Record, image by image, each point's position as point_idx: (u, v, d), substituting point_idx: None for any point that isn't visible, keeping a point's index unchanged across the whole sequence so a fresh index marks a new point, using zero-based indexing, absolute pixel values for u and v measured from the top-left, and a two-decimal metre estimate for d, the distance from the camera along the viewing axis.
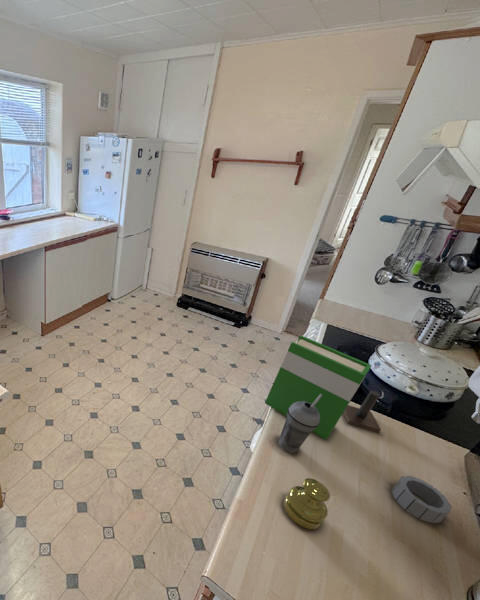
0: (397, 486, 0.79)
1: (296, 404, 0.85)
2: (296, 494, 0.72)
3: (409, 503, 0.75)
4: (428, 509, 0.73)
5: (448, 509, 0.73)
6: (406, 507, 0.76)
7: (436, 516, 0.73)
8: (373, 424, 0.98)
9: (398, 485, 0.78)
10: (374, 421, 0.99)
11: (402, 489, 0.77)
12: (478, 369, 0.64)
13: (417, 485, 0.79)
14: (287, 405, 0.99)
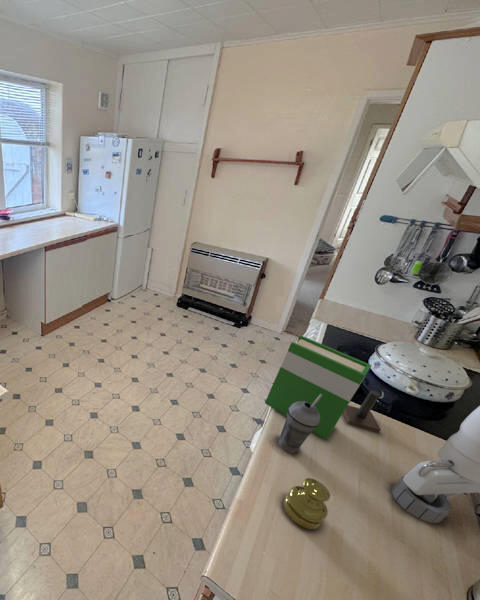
0: (397, 486, 0.79)
1: (296, 404, 0.85)
2: (296, 494, 0.72)
3: (409, 503, 0.75)
4: (428, 509, 0.73)
5: (448, 509, 0.73)
6: (406, 507, 0.76)
7: (437, 516, 0.73)
8: (373, 424, 0.98)
9: (398, 485, 0.78)
10: (374, 421, 0.99)
11: (402, 489, 0.77)
12: None
13: None
14: (287, 405, 0.99)
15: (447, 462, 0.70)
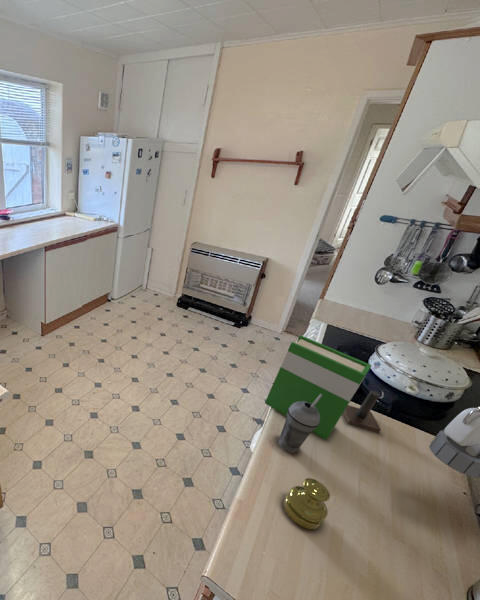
0: (436, 440, 0.71)
1: (296, 404, 0.85)
2: (296, 494, 0.72)
3: (451, 457, 0.68)
4: (474, 462, 0.65)
5: None
6: (448, 462, 0.68)
7: None
8: (373, 424, 0.98)
9: (437, 439, 0.71)
10: (374, 421, 0.99)
11: (442, 443, 0.69)
12: None
13: None
14: (287, 405, 0.99)
15: None
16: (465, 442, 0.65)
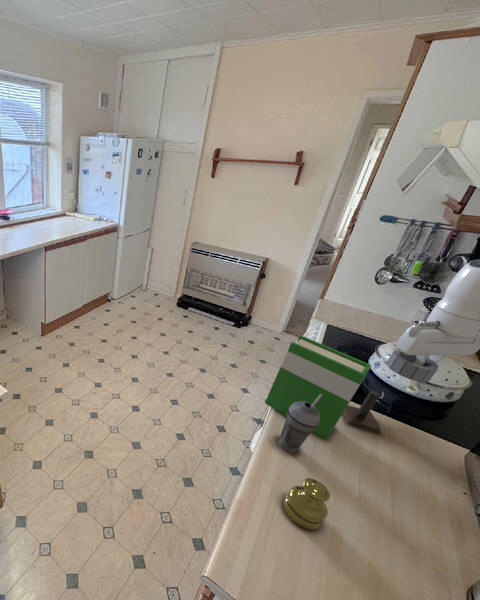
0: (391, 357, 0.88)
1: (296, 404, 0.85)
2: (296, 494, 0.72)
3: (401, 367, 0.84)
4: (418, 368, 0.82)
5: (436, 367, 0.82)
6: (399, 371, 0.85)
7: (426, 373, 0.82)
8: (373, 424, 0.98)
9: (391, 355, 0.87)
10: (374, 421, 0.99)
11: (395, 357, 0.86)
12: None
13: (408, 356, 0.88)
14: (287, 405, 0.99)
15: (434, 322, 0.79)
16: (410, 351, 0.81)
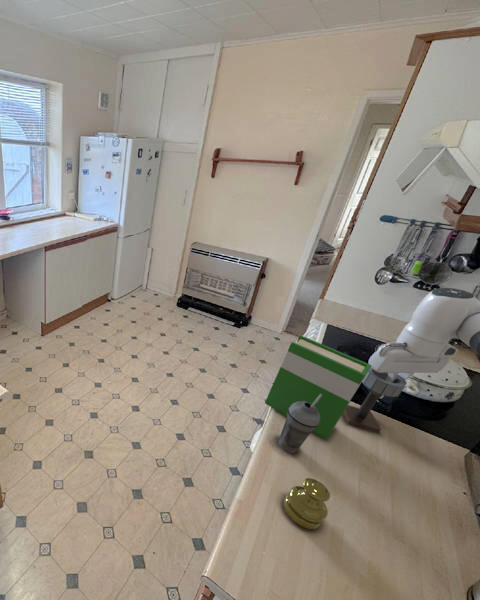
0: None
1: (296, 404, 0.85)
2: (296, 494, 0.72)
3: (373, 383, 0.93)
4: (388, 384, 0.90)
5: (404, 384, 0.90)
6: (371, 387, 0.93)
7: (394, 389, 0.90)
8: (373, 424, 0.98)
9: None
10: (374, 421, 0.99)
11: (368, 373, 0.94)
12: None
13: None
14: (287, 405, 0.99)
15: (402, 343, 0.88)
16: (381, 369, 0.90)
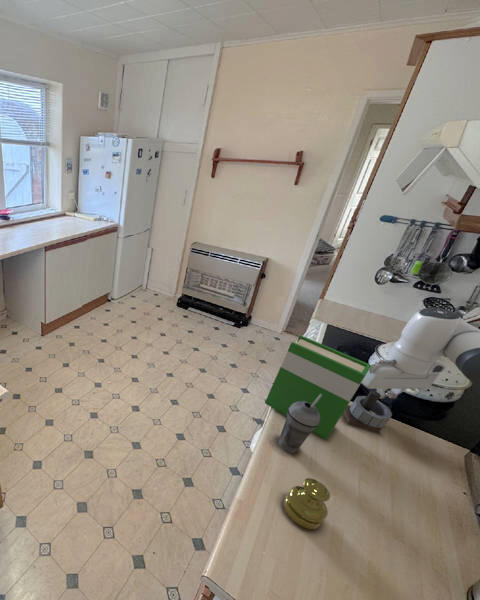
0: (353, 403, 1.01)
1: (296, 404, 0.85)
2: (296, 494, 0.72)
3: (360, 414, 0.98)
4: (373, 417, 0.96)
5: (389, 416, 0.96)
6: (358, 418, 0.99)
7: (380, 421, 0.96)
8: None
9: (353, 402, 1.01)
10: None
11: (356, 405, 1.00)
12: None
13: None
14: (287, 405, 0.99)
15: (391, 360, 0.91)
16: (371, 385, 0.92)
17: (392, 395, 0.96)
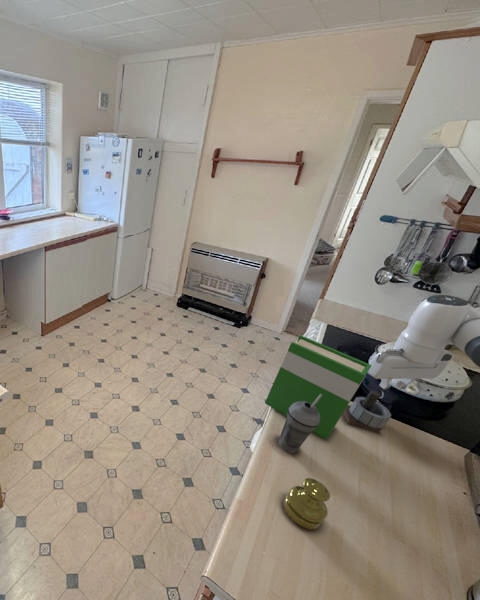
0: (352, 404, 1.02)
1: (296, 404, 0.85)
2: (296, 494, 0.72)
3: (360, 414, 0.98)
4: (374, 416, 0.96)
5: (389, 416, 0.96)
6: (358, 418, 0.99)
7: (380, 421, 0.96)
8: None
9: (353, 403, 1.01)
10: None
11: (356, 405, 1.00)
12: None
13: None
14: (287, 405, 0.99)
15: (398, 349, 0.89)
16: (378, 375, 0.91)
17: (402, 385, 0.95)
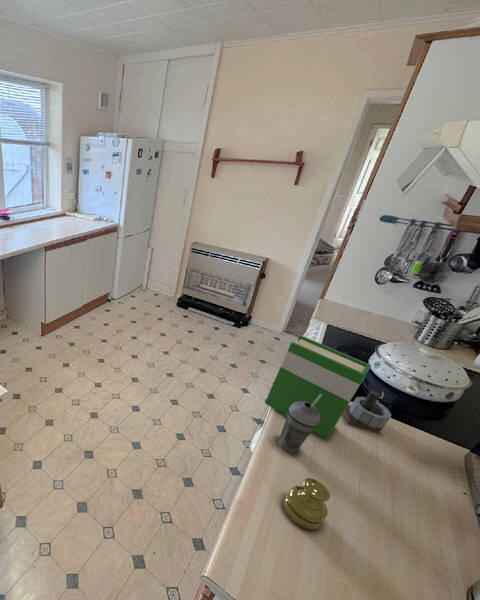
0: (352, 404, 1.02)
1: (296, 404, 0.85)
2: (296, 494, 0.72)
3: (360, 414, 0.98)
4: (374, 416, 0.96)
5: (389, 416, 0.96)
6: (358, 418, 0.99)
7: (380, 421, 0.96)
8: None
9: (353, 403, 1.01)
10: None
11: (356, 405, 1.00)
12: None
13: None
14: (287, 405, 0.99)
15: None
16: None
17: None
